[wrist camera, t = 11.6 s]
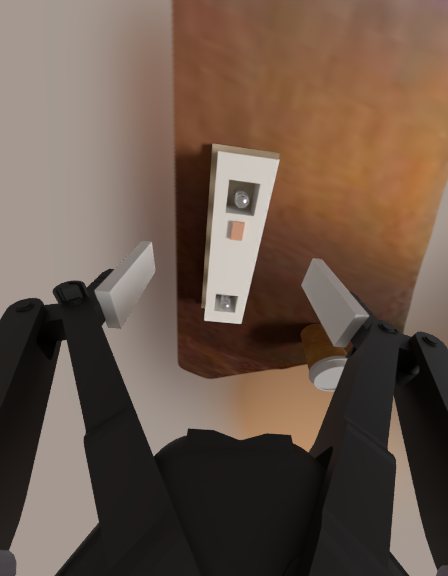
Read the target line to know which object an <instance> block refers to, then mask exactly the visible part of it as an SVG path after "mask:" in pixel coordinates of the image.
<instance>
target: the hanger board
mask: <svg viewBox="0 0 448 576" xmlns="http://www.w3.org/2000/svg"><path fill="white" fill-rule="evenodd" d="M218 151H221V152H228V153H235V154H242V155H249V156H256V157H263V158H270V159H276V160H279V155H280V153H273V152H266V151H259V150H253V149H246V148H239V147H232V146H225V145H219V144H212V159H211V173H210V188H209V203H208V218H207V232H206V247H205V262H204V277H203V292H202V306H201V308H205V306H206V293H207V281H208V269H209V257H210V245H211V232H212V220H213V208H214V196H215V183H216V171H217V159H218ZM254 185H255V183H251V182H243V181H236V180H229V186H228V195H227V204H226V205H230V206H236V204H235V200H234V191H235V190H236V189H237V188H243V189H244V190H245V191H246V193H247V195H248V197H249V204H248V205H247V207H246V208H250V206H251V201H252V195H253V190H254ZM216 295H221V294H216ZM230 296H232V295H230Z"/></svg>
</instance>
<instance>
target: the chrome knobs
mask: <svg viewBox="0 0 448 576" xmlns="http://www.w3.org/2000/svg"><path fill="white" fill-rule="evenodd" d="M234 200H235V204H236V206H237V207H238V208H245V207H247V205H248V204H249V197H248V195H247V193H246V191H245V190H244V189H243V188H237V189H236V190H235V191H234ZM220 306H221V308H222V309H223V310H228V309H229V308H230V306H231V299H230V295H222V294H221V303H220Z"/></svg>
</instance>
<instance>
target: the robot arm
mask: <svg viewBox="0 0 448 576" xmlns="http://www.w3.org/2000/svg"><path fill="white" fill-rule="evenodd" d="M154 273H155V264H154V256H153V248H152V242H150V241H141V243H139V244H138V245H137V246H136V247H135V249H134V250H133V251H132V252H131V253H130V254H129V255H128V256H127V257H126V258H125V259H124V260H123V261H122V262H121V263H120V264H119V266H117V267H116V269H108V270H107V271H105V272H102V273H101V274H100V275H99V276H98V278H96V279H95V280H94V282H92V283H91V284H90V285H89V286H88V287H87V288H86V286H85V284H84V283H83V282H81V281H67V282H64V283H61V284H60V285H58V286H56V287H55V288H54V289H53V294H54V296H55V298H56V299H57V301H58V303H59V304H50V305H44V304H43V302H42V301H41V300H40V299H37V298H28V299H24V300H20V301H18V302H16V303H14V304H12V305H10V306H9V307H8V308H7V310H6V311H5V313H4V314H3V316H2V318H1V319H0V576H15V575H16V560H15V557H14V554H12V553H11V552H10V551H9V548H10V546H11V543H12V540H13V538H14V535H15V532H16V529H17V527H18V524H19V521H20V517H21V513H22V510H23V506H24V503H25V499H26V495H27V490H28V486H29V482H30V478H31V473H32V469H33V464H34V460H35V455H36V451H37V446H38V442H39V438H40V434H41V429H42V425H43V421H44V416H45V412H46V407H47V403H48V398H49V394H50V390H51V385H52V381H53V376H54V372H55V368H56V364H57V359H58V355H59V350H60V346H61V341H62V340H67V343H68V348H69V352H70V357H71V362H72V367H73V372H74V376H75V381H76V386H77V390H78V395H79V399H80V405H81V409H82V414H83V419H84V423H85V429H86V434H85V436H84V447H85V453H86V458H87V463H88V468H89V473H90V478H91V483H92V489H93V494H94V499H95V504H96V509H97V514H98V519H99V523H98V524H97V526H96V527H95V528H94V529H93V530H92V531H91V533H90V534H89V535H88V536H87V537H86V539H85V540H84V541H83V542H82V543H81V545H80V546H79V547H78V548H77V549H76V551H75V552H74V553H73V554H72V555H71V557H70V558H69V559H68V560H67V561H66V563H65V564H64V565H63V566H62V567H61V569H60V570H59V571H58V572H57V573H56V575H55V576H409V575H408V574H407V572H406V571H405V570H404V569H403V567H402V566H401V565H400V563H399V562H398V561H397V560H396V558H395V557H394V556H393V555H392V553H391V552H390V538H391V526H392V514H393V501H394V487H395V474H396V459H395V457H394V455H393V454H391V453H390V452H389V451H388V448H387V446H388V437H389V428H390V420H391V411H392V402H393V394H394V398H395V403H396V407H397V411H398V416H399V421H400V425H401V430H402V435H403V439H404V444H405V448H406V452H407V457H408V462H409V467H410V471H411V476H412V480H413V485H414V489H415V494H416V498H417V503H418V507H419V512H420V517H421V520H422V524H423V528H424V531H425V536H426V539H427V542H428V545H429V548H430V551H431V554H432V557H433V560H434V563H435V565H436V568H437V570H438V571H437V575H436V576H448V349H447V347H446V346H445V345H444V343H443V342H441V341H440V340H439V339H438V338H436V337H435V336H433V335H430V334H428V333H424V332H417V333H416V334H414V335H413V336H412V337H410V336H407V335H404V334H400V332H399V330H398V329H397V328H396V327H394V326H393V325H392V324H390V323H388V322H386V321H383V320H378V319H377V318H376V317H375V316H374V315H373V313H372V312H371V311H370V310H369V309H368V308H367V307H366V305H365V304H364V303H362V301H361V300H360V299H359V297H358V296H356V295H355V294H354V293H352V292H350V291H348V290H347V289H346V287H345V286H344V285H343V284H342V283H341V281H340V280H339V279H338V278H337V277H336V276H335V274H334V273H333V272H332V271H331V270H330V268H329V267H328V266H327V265H326V264H325V263H324V261H323V260H322V259H314V258H313V259H312V261H311V263H310V266H309V268H308V271H307V273H306V276H305V278H304V280H303V283H302V285H301V286H302V288H303V290H304V291H305V293H306V295H307V297H308V299H309V301H310V303H311V305H312V306H313V308H314V310H315V312H316V314H317V316H318V318H319V320H320V321H321V323H322V325H323V327H324V329H325V331H326V333H327V335H328V336H329V338H330V340H331V342H332V344H333V346H335V347H346V346H347V345H348V344H349V342H350V341H351V342H352V344H353V345H354V346H353V348H352V349H351V350H350V351H349V353H348V354H347V355H346V357H345V358H347V361H346V363H345V366H344V369H343V371H342V374H341V376H340V379H339V382H338V384H337V387H336V389H335V392H334V395H333V397H332V400H331V402H330V405H329V407H328V410H327V413H326V415H325V418H324V420H323V423H322V426H321V428H320V430H319V433H318V436H317V438H316V441H315V443H314V445H313V446H312V448H311V449H310V451H309V453H308V452H307V451H305V450H304V449H302V448H301V447H299V446H297V445H295V444H293V443H292V438H291V435H282V434H263V435H260V436H256V437H252V438H248V439H245V440H237V439H235V438H232V437H230V436H227V435H225V434H222V433H219V432H217V431H214V430H202V429H188V433H187V436H183V437H180V438H178V439H176V440H174V441H172V442H170V443H169V444H167V445H166V446H165V447H163V448H162V449H161V450H160V451H159V452H158V453H157V454H156V455H155V456H153V454H152V452H151V449H150V446H149V444H148V442H147V439H146V436H145V434H144V431H143V429H142V426H141V424H140V422H139V419H138V416H137V414H136V411H135V409H134V406H133V404H132V401H131V399H130V396H129V394H128V391H127V389H126V386H125V384H124V381H123V379H122V376H121V374H120V371H119V369H118V366H117V364H116V361H115V359H114V356H113V353H112V351H111V348H110V346H109V343H108V341H107V338H106V336H105V333H104V331H103V328H102V325H103V323H104V322H105V321H106V323H107V326H108V328H122V326H123V324H124V323H125V321H126V319H127V318H128V316H129V314H130V313H131V311H132V309H133V308H134V306H135V304H136V303H137V301H138V300H139V298H140V296H141V295H142V293H143V291H144V290H145V288H146V286H147V285H148V283H149V281H150V280H151V278H152V276H153V275H154Z"/></svg>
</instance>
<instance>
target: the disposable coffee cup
mask: <svg viewBox="0 0 448 576" xmlns="http://www.w3.org/2000/svg"><path fill="white" fill-rule="evenodd" d="M300 336H301V339H302V344H303V348H304V352H305V356H306V360H307V364H308V368H309V379H310V381H311V382H312V383H313V384H314V385H315V386H316V387H317V388H318V389H320V390H323V391H335V389H336V387H337V384H338V382H339V379H340V376H341V374H342V371H343V369H344V366H345V363H346V361H347V358H345V357H346V355H347V353H346V351H345V350H344V349H343V347H335V346H333V344H332V342H331V340H330V338H329V336H328V335H327V333H326V331H325V329H324V327H323V325H322V324H311V325H308V326H306V327H305V328H304V329H303V330H302V331H301V333H300Z"/></svg>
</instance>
